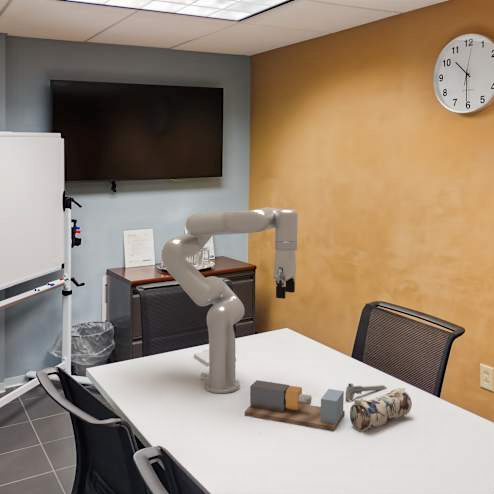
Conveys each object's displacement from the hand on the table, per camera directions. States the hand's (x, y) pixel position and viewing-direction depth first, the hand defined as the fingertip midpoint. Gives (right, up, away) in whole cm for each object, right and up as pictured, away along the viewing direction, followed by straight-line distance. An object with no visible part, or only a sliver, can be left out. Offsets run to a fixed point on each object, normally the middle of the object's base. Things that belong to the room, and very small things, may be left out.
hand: (285, 295), depth 213 cm
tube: (-1, -35, -8) cm, 36 cm away
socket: (+14, -38, -14) cm, 43 cm away
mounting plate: (-26, -31, +46) cm, 61 cm away
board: (+2, -39, -9) cm, 40 cm away
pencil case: (+30, -40, -14) cm, 52 cm away
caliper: (+29, -36, +9) cm, 48 cm away
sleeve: (-6, -37, -6) cm, 38 cm away
